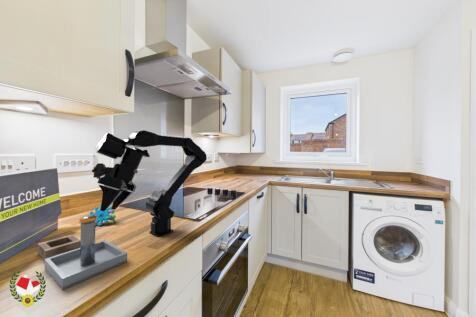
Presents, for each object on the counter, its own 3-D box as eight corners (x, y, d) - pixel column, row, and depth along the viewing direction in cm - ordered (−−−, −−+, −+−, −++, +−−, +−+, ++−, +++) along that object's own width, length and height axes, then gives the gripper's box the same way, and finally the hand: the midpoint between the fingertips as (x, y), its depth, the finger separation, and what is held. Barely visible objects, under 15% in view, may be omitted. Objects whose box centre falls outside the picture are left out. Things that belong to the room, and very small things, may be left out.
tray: (104, 247, 62) (104, 239, 62) (127, 261, 55) (127, 252, 55) (44, 268, 51) (44, 259, 51) (62, 290, 43) (62, 278, 43)
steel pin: (86, 258, 55) (87, 214, 55) (99, 259, 55) (100, 215, 54) (74, 266, 51) (75, 219, 51) (88, 266, 51) (89, 219, 51)
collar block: (71, 243, 65) (71, 234, 65) (80, 250, 61) (80, 240, 60) (37, 253, 58) (37, 243, 58) (45, 261, 54) (45, 251, 54)
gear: (80, 222, 80) (96, 201, 86) (88, 228, 84) (102, 208, 91) (105, 227, 79) (120, 206, 86) (111, 233, 83) (125, 212, 90)
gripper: (113, 161, 73) (94, 202, 69) (91, 149, 56) (63, 203, 51) (143, 171, 75) (126, 211, 71) (131, 162, 58) (107, 215, 53)
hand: (108, 210), depth 62 cm, fingers open, 9 cm apart
